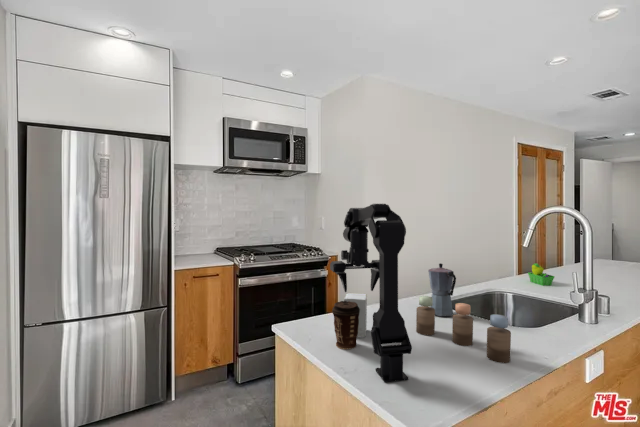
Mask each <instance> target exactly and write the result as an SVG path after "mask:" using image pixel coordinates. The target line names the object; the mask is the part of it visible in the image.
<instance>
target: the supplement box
mask: <svg viewBox="0 0 640 427" xmlns="http://www.w3.org/2000/svg"><path fill="white" fill-rule="evenodd" d="M367 297H368V294H365V293H351V292H350V293H347V292H346V294H345V296H344V298H343V301H347V302H348V301H350V302H355V303H357V304H358V307H359V309H360V313H359V317H358V318H359V325H358V335H357V338H366V333H367V323H368V322H367V317H368V316H367V314H368V309H367V308H368V307H367V306H368V299H367Z"/></svg>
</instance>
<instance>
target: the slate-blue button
mask: <svg viewBox="0 0 640 427" xmlns="http://www.w3.org/2000/svg"><path fill="white" fill-rule="evenodd" d="M490 327H497V328H505V329H507V328H508V327H509V318H508V317H507V316H506V315H503V314H497V313H496V314H490Z"/></svg>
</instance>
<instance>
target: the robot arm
mask: <svg viewBox="0 0 640 427" xmlns="http://www.w3.org/2000/svg"><path fill="white" fill-rule="evenodd" d="M382 218H383V219H384V220H381V219H382ZM377 219H378V220H377ZM379 219H380V220H379ZM385 219H386V220H385ZM375 220H376V221H375ZM343 226H344V230H343V232H342V235H343V236H342V237H343V238H344V240H345V241H347V242H349V243H350V247H349V251H348V250H347V249H345V250H341V254H340V256H341V257H340V258H341V260H332V261H331V262H330V264H329V269H330V271H332V272H333V273H335V274H336V275H338V277H339V279H340V282H341V285H342V288H343V290H344V291H343V292H344V293H347V289H348V280H347V277H348V276H347V272H346V270H360V269H370V274H371V276H370V291H371V292H374V290H375V287H376V284H377V282H378V280H379V308H378V310H377V312H376V311H375V312H373V314H372V326H371V331H370V337H371V341H372V342H371V343H372V344H371V345H372V349H373V352H372V353H373V354H374V355H377V356H378V357H379V358H380V361H379V362H380V363H379V364H380V365H379V367H376V368H375V369H374V370H375V372H376V374H377V375H378V376H379V377H380V378H381V380H382V381H383V383H391V382H400V381H408V380H409V376H408V375H407V374H406V373H405V372H404V355H410V354H412V349H413V346H412V343H411V340H410V338H409V333H408V330H407V328H406V324H405V320H404V318H403V316H402V314H401V313H400V311H399V254H400V252H401V250H402V249H403V247H404V245H405V240H406V239H405V237H406V235H407V234H406V233H407V229H406V225H405V223H404V222H403V220H402V218H401V216H400V215H399V214H397V213H396V212H394V211H393V210H392V209H391V207H390V206H389V204H386V203H372V204H369V205H368V206H364V207H350V208H349V209H348V210H347V213H346V215H345V218H344V220H343ZM369 232H370V235H371V238H372V242H373V246H374V247H375V248H376V250H377V252H378V255H379V256H378V257H379V259H372V260H371V262H369V259H368V258H369V257H368V256H369V254H368V253H370V252H369V250H370V249H369V248H368V247H369V245H368V242H369V241H368V239H369V237H368V235H369V234H368V233H369ZM344 261H346V263H345V262H344ZM388 344H389V345H388Z"/></svg>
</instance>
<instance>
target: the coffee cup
mask: <svg viewBox="0 0 640 427" xmlns="http://www.w3.org/2000/svg"><path fill="white" fill-rule="evenodd" d="M333 305H334V306H333V307H332V309H331V312H332V315H333V325H334V326H333V327H334V333H335V337H336V342H335V346H336V347H337V348H338V349H340V350H344V351H345V350H346V351H347V350H353V349H355V348H357V339H358V337H357V335H358V325H359V318H358V317H359V313H360V309H359V307H358V304H357V303H355V302H350V301H348V302H347V301H344V300H341V301H338V302H336V303H335V302H334V304H333Z"/></svg>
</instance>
